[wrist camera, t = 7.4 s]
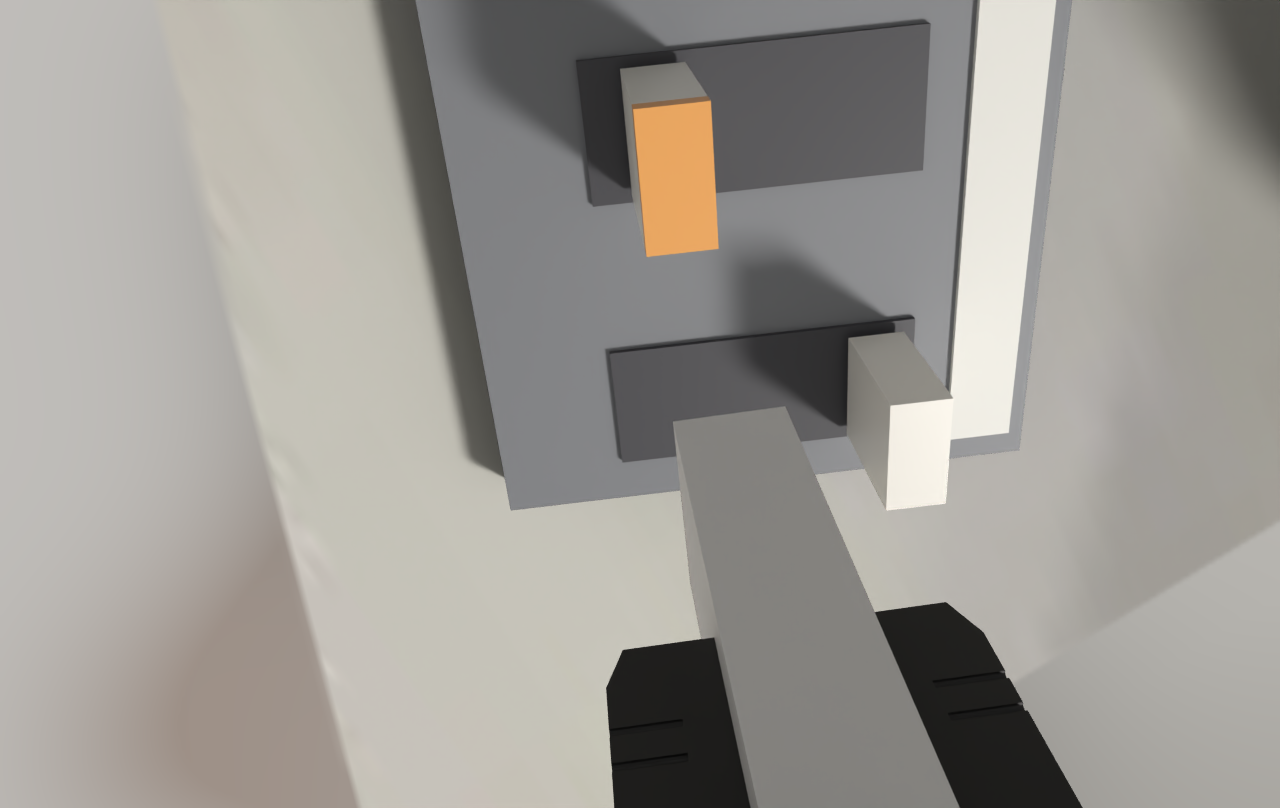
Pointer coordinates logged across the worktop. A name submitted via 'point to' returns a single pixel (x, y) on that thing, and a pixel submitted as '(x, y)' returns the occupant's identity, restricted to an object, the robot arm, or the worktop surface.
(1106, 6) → the worktop surface
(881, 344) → the cream rectangular block
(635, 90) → the handle
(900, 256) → the breaker panel
